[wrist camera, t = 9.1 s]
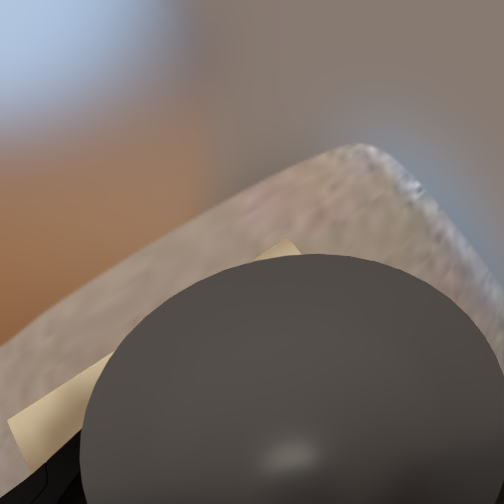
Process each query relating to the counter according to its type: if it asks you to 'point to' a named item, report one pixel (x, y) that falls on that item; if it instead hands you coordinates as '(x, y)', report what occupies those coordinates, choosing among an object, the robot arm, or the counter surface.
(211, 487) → the grey cylinder
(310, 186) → the counter surface
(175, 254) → the counter surface
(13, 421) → the birch board
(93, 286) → the counter surface
